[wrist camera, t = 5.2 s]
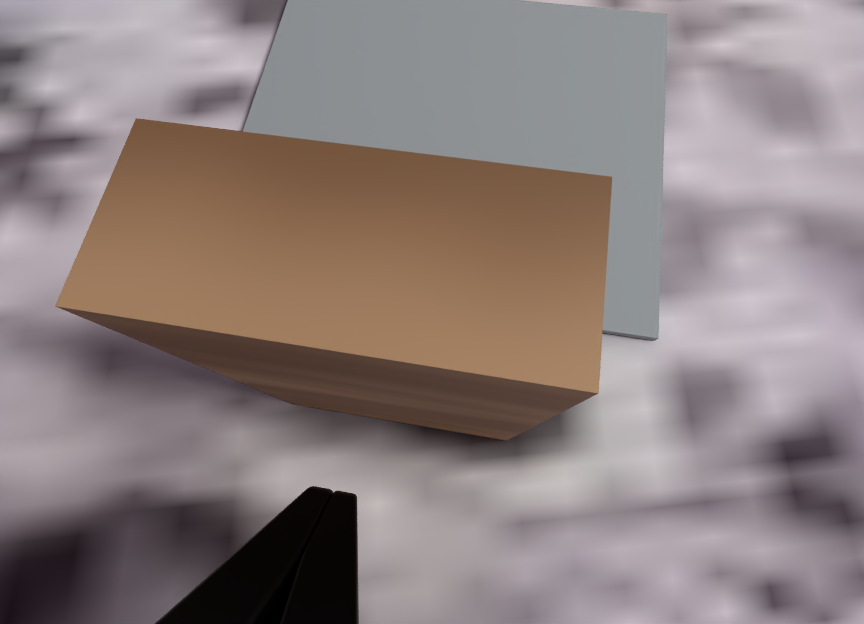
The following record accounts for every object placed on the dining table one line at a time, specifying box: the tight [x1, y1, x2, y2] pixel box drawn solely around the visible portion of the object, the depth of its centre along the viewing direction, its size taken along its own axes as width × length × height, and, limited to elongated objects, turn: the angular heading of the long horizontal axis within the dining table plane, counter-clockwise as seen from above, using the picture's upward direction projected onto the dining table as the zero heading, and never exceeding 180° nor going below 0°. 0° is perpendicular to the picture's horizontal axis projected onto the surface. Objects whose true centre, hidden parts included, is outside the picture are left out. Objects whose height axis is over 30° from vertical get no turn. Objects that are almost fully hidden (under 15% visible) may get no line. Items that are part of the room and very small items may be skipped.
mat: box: [243, 0, 667, 341], centre depth 19 cm, size 14×16×1 cm
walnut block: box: [56, 119, 612, 441], centre depth 11 cm, size 3×7×10 cm, turn 80°
